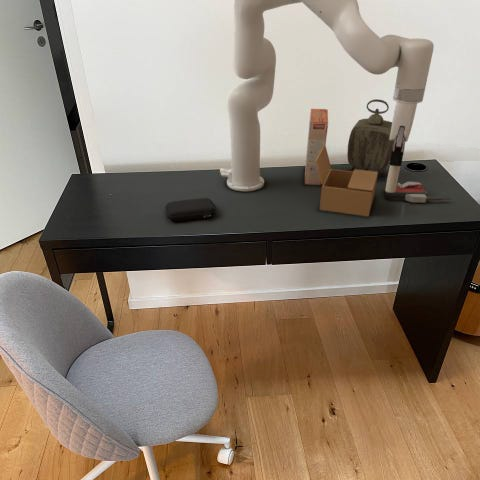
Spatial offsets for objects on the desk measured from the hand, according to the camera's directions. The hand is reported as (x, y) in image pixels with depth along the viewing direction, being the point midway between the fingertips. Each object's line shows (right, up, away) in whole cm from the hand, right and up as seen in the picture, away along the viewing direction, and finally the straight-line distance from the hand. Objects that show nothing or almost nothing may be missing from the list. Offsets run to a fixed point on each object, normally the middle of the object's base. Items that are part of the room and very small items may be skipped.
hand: (395, 162), depth 140 cm
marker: (0, -7, +5) cm, 9 cm away
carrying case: (-59, -13, +11) cm, 61 cm away
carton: (-10, -8, +15) cm, 20 cm away
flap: (-19, +3, +10) cm, 21 cm away
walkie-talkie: (+12, -6, +19) cm, 23 cm away
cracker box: (-19, +5, +32) cm, 37 cm away
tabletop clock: (0, +5, +32) cm, 33 cm away
